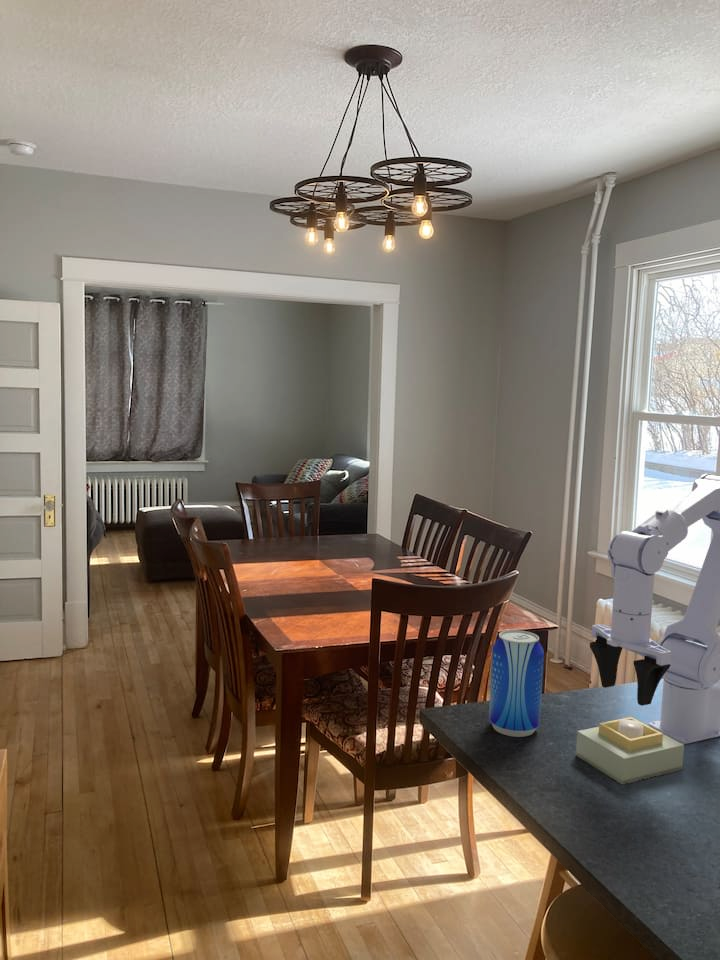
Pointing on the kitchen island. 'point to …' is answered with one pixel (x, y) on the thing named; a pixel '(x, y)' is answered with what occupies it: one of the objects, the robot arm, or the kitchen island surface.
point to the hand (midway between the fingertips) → (625, 694)
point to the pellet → (630, 728)
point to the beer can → (516, 683)
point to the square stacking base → (629, 752)
